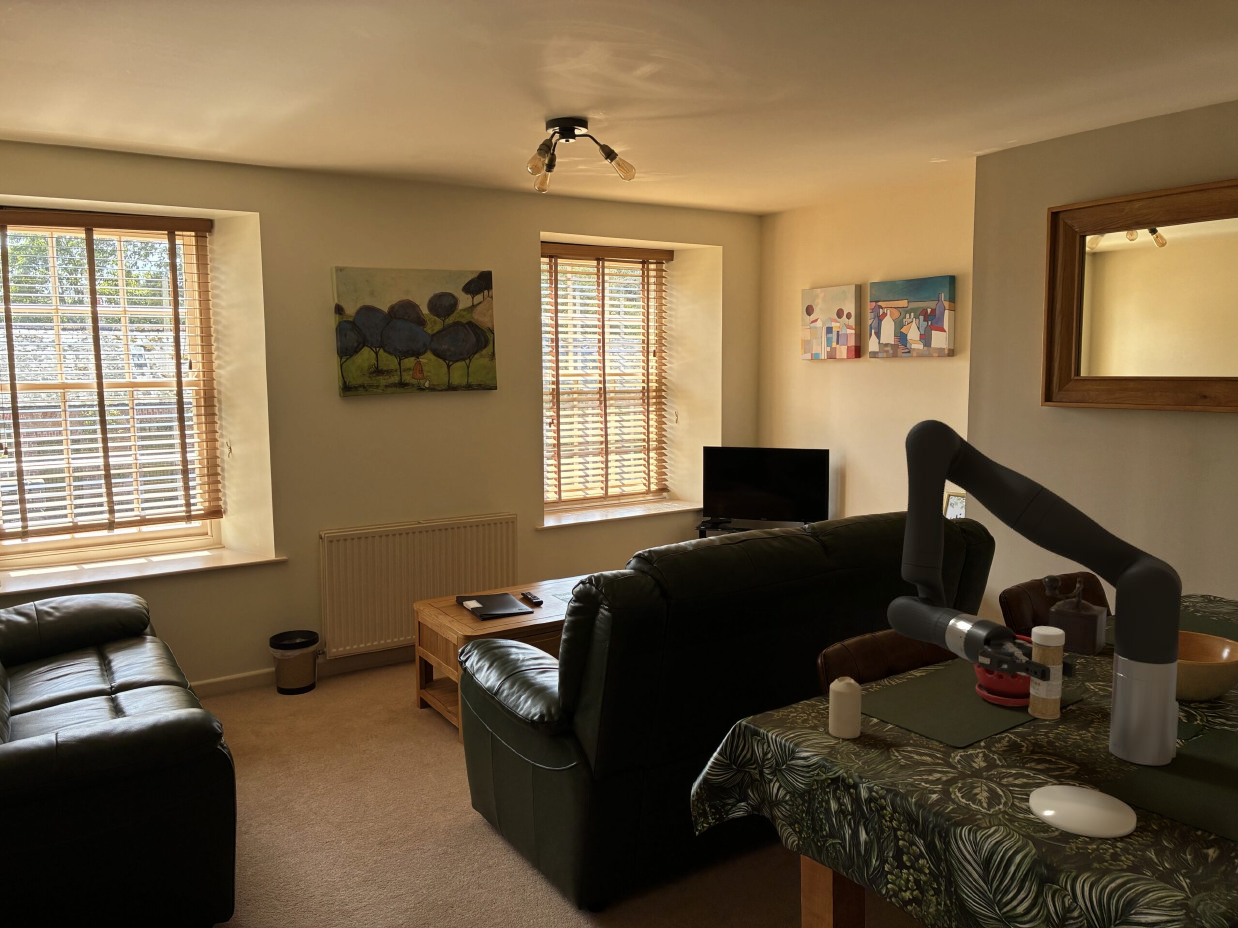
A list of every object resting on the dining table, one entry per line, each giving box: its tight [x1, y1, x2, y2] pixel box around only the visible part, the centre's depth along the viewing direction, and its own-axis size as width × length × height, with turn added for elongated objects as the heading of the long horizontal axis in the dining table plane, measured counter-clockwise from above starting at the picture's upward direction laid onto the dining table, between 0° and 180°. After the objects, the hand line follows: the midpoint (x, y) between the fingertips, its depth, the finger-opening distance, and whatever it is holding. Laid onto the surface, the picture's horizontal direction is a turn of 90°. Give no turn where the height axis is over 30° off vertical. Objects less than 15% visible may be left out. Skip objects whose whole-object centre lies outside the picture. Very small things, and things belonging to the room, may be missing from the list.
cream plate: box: [1028, 784, 1137, 839], centre depth 134 cm, size 14×14×1 cm
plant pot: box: [973, 634, 1033, 707], centre depth 181 cm, size 13×13×12 cm
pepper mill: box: [1042, 574, 1108, 657], centre depth 212 cm, size 16×11×18 cm
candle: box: [828, 676, 862, 740], centre depth 164 cm, size 6×6×10 cm
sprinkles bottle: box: [1028, 625, 1065, 720], centre depth 139 cm, size 5×5×13 cm
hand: (1060, 672), depth 137 cm, fingers closed on sprinkles bottle, 4 cm apart
